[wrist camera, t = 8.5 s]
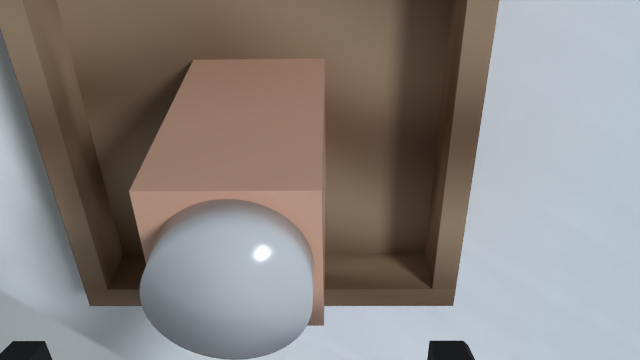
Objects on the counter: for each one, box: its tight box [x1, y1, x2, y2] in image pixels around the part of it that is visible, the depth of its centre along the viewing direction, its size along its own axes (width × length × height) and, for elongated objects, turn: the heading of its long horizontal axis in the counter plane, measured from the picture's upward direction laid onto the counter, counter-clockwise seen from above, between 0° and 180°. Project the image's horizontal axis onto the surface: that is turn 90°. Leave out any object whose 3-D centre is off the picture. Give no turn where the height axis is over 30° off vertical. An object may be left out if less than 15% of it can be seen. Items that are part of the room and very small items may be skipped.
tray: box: [0, 0, 499, 306], centre depth 19 cm, size 13×13×2 cm
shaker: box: [129, 59, 326, 360], centre depth 16 cm, size 4×4×8 cm
